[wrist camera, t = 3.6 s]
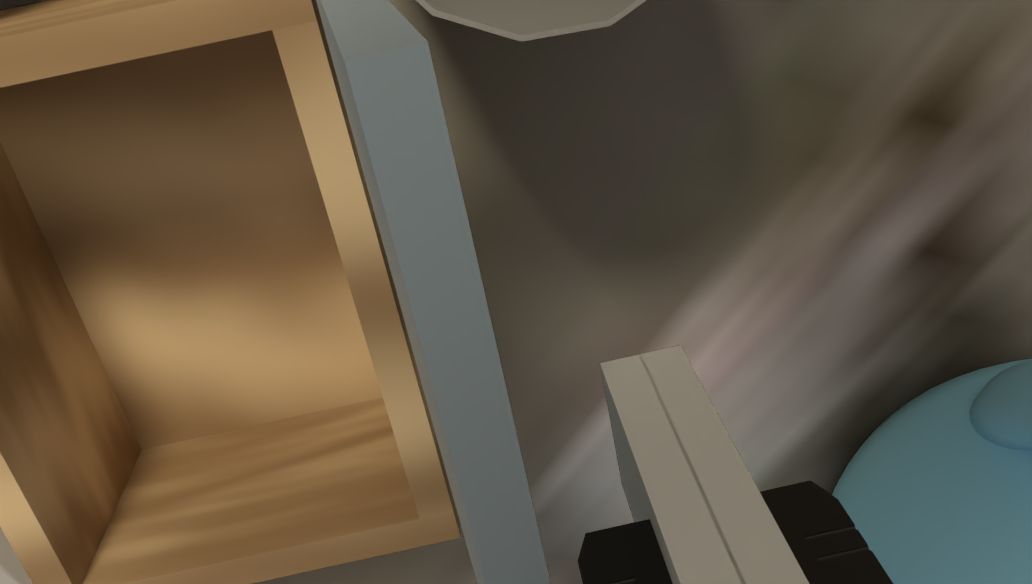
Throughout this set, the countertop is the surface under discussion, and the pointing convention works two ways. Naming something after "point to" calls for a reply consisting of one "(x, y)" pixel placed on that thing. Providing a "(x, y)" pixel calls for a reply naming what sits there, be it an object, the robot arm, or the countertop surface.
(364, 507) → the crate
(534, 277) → the countertop surface
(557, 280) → the countertop surface
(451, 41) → the countertop surface
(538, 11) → the cup
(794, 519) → the robot arm
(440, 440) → the lid
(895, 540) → the teapot
